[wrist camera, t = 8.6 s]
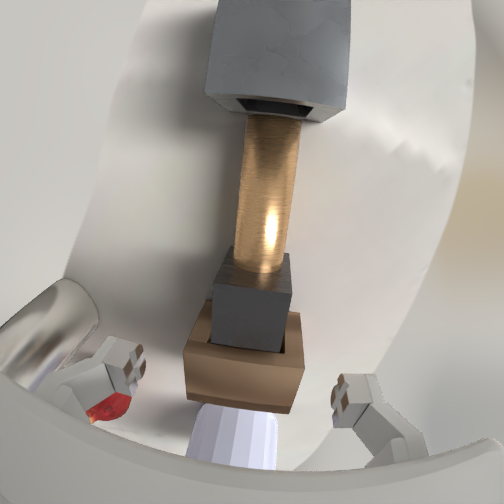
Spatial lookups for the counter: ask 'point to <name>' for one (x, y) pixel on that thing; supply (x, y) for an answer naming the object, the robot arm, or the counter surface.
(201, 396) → the socket
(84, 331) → the silver metal cylinder
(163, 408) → the counter surface
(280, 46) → the matte grey rectangular block
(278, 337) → the hammer
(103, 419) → the onion
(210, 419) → the soap bottle
